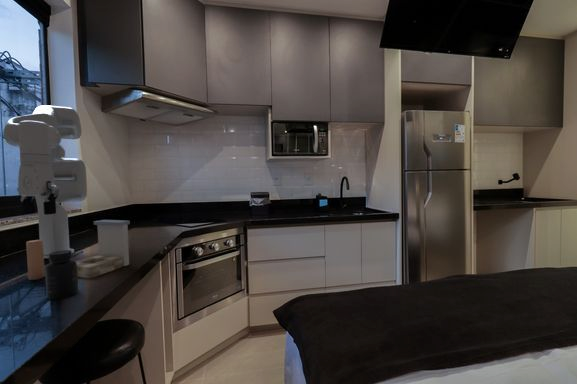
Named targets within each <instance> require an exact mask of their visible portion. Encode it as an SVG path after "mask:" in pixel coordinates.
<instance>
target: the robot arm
mask: <svg viewBox="0 0 577 384" xmlns="http://www.w3.org/2000/svg"><path fill="white" fill-rule="evenodd" d="M82 131H83V130H82V126H81V120H80V116H79V113H78V112H77V111H76V110H75V109H74V108H72V107H68V106H57V105H47V104H45V105H39V106H37V107H36V108H35V109H34V111H33V112H32V113H31V114H26V115H19V116H15V117H14V116H13V117H12V118H10V119H9V120H8V121H7V122H6V124H5V125H4V128H3V132H2V134H3V138H4V140H5V143H7V144H9V146H12V147H19V159H20V161H19V163H20V165H19V170H18V180H17V183H18V184H17V188H16V189H17V192H18V196H19V198H20V202H21V210H22V211H21V212H22V215H28V214H34V213H35V212H36V210H35V209H36V208H35V202H36V206H37V215H38V232H39V234H38V235H39V240H43V251H44V260H45V259H49V254H50V253H52V252H56V251H62V250H71V253H72V254H74V252H75V249H74V248H71V247H70V235H69V234H70V232H69V231H70V230H69V218H68V217H69V215H68V211H67V210H66V209H65V207H63V206H62V205H61V203H74V202H75V203H77V202H78V203H79V202H83V201H85V200H86V198H87V196H88V185H87V184H88V183H87V180H88V179H87V168H86V164H85V162H84V160H82V159H80V158H71V157H70V158H66V151H65V148H64V147H63V146H62V145H61V141H62V140H63V139H64V140H78V139H80V138H81V136H82ZM34 198H35V200H34Z"/></svg>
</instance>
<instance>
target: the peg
mask: <svg viewBox="0 0 577 384" xmlns="http://www.w3.org/2000/svg"><path fill="white" fill-rule="evenodd" d="M25 245H26V246H25V247H26V260H27V278H28V279H27V280H29V281H33V280H40V279H44V278H46V275H45V259H44V251H43V240H40V239H35V240H33V239H32V240H28V241H26V243H25Z"/></svg>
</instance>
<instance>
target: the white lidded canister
mask: <svg viewBox="0 0 577 384" xmlns="http://www.w3.org/2000/svg"><path fill="white" fill-rule="evenodd" d="M130 223H131V221H130V220H120V219H119V220H118V219H101V220H95V221H93V225H94V226H97V243H98V255H101V256H112V257H122V267H126V266H129V265H130V255H129V254H130V251H129V232H128V231H129V228H128V226H129V225H130Z"/></svg>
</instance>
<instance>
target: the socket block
mask: <svg viewBox="0 0 577 384" xmlns="http://www.w3.org/2000/svg"><path fill="white" fill-rule="evenodd" d="M75 261H76V263H77V273H78V278H84V279H86V278H87V279H93V278H96V277H98V276H100V275H101V276H102V275H104V274H106V273H109V272H112V271H115V270H118V269H121V268H123V266H122V257H112V256H101V255H99V254H98V255H97V254H95V255H91V256H88V257H84V258H82V259H78V260H75Z"/></svg>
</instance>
